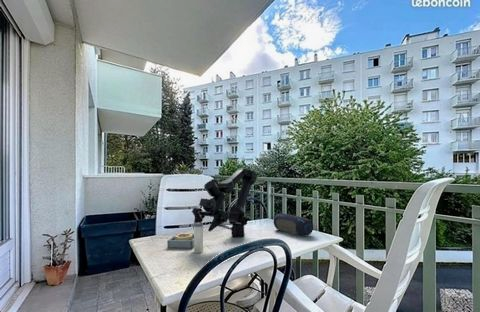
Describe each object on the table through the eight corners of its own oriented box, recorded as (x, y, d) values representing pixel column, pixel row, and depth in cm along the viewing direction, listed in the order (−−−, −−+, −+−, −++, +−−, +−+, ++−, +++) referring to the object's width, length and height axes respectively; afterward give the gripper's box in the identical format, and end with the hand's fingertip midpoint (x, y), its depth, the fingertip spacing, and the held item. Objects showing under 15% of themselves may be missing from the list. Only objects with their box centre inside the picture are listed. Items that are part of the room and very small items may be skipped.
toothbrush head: (221, 218, 175) (244, 218, 156) (222, 228, 174) (245, 229, 155) (214, 219, 172) (237, 219, 152) (215, 229, 171) (238, 230, 151)
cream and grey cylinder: (204, 250, 118) (204, 222, 118) (201, 253, 114) (201, 224, 114) (195, 249, 118) (195, 222, 119) (192, 252, 114) (192, 224, 115)
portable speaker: (270, 230, 154) (270, 213, 155) (282, 227, 160) (282, 211, 161) (303, 239, 134) (302, 219, 134) (315, 236, 140) (315, 217, 140)
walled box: (199, 241, 132) (199, 232, 132) (192, 248, 120) (192, 238, 120) (176, 241, 133) (176, 232, 134) (167, 248, 121) (167, 238, 122)
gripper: (194, 191, 128) (177, 217, 119) (224, 192, 118) (208, 221, 108) (205, 205, 134) (189, 231, 125) (234, 208, 124) (220, 236, 114)
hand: (201, 229), depth 118 cm, fingers open, 9 cm apart
